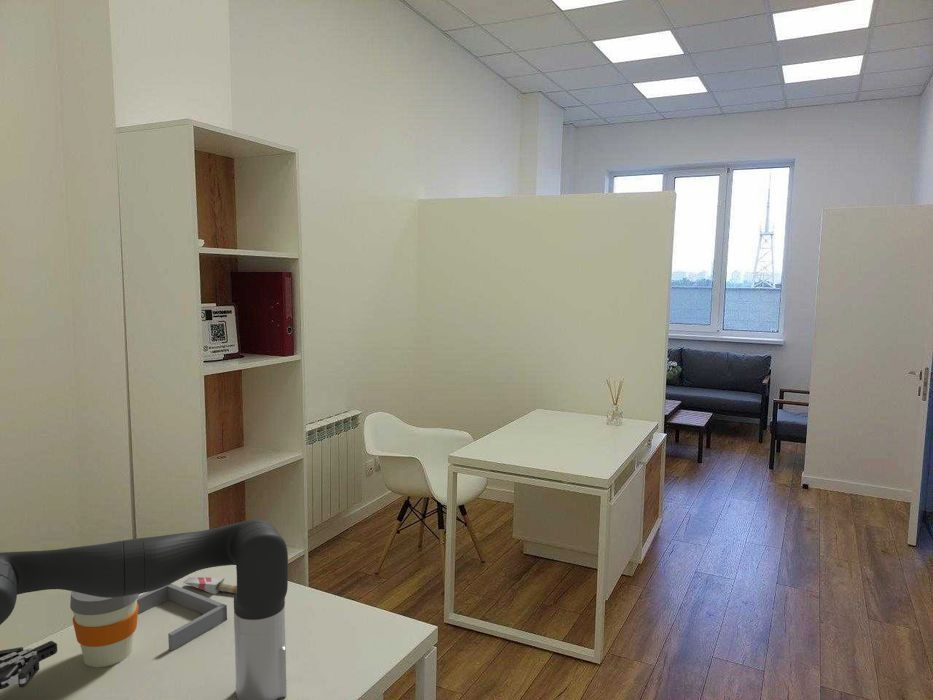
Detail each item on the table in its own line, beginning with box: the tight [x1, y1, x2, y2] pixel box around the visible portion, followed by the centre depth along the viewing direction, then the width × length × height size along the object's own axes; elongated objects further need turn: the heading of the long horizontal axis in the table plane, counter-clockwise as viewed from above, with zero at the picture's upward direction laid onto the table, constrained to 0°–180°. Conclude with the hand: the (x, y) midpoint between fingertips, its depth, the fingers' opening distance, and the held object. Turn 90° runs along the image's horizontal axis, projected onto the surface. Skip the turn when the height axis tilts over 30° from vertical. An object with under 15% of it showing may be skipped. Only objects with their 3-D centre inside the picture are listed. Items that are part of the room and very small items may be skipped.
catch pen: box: [137, 583, 228, 652], centre depth 152 cm, size 14×20×4 cm
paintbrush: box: [183, 576, 237, 595], centre depth 166 cm, size 4×3×20 cm
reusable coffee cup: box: [69, 591, 140, 668], centre depth 138 cm, size 13×13×15 cm
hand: (54, 646), depth 129 cm, fingers closed
